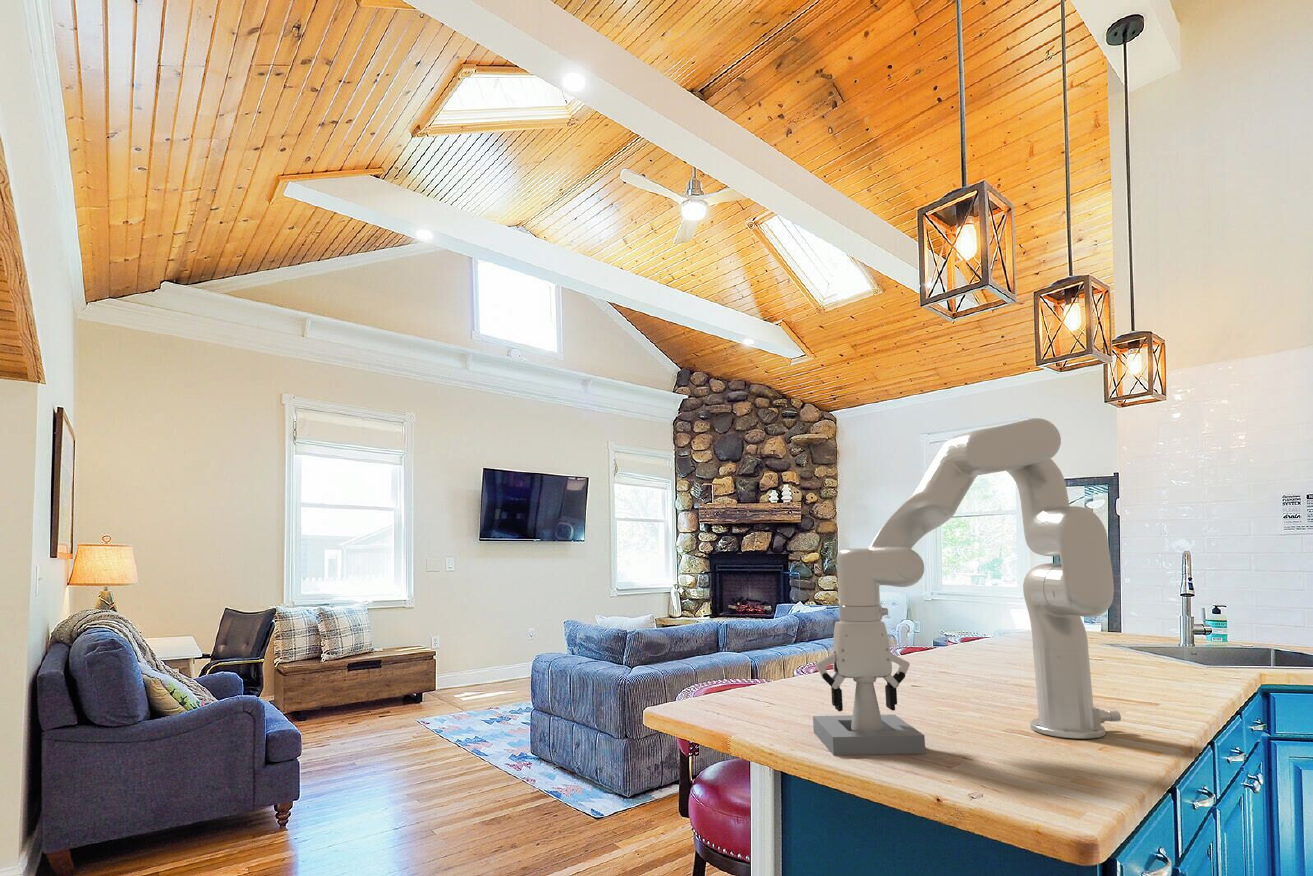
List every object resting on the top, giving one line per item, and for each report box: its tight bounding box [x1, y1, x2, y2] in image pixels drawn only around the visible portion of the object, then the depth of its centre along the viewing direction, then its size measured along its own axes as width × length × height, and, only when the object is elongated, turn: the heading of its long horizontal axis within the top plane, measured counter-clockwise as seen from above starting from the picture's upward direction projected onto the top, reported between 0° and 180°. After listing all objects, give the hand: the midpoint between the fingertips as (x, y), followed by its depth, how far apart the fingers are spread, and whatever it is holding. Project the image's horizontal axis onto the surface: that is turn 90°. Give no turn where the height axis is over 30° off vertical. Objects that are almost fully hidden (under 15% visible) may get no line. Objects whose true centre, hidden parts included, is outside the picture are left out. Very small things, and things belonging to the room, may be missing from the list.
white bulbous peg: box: [851, 676, 884, 731], centre depth 140 cm, size 6×6×13 cm
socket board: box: [812, 714, 926, 756], centre depth 139 cm, size 16×16×3 cm
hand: (864, 709), depth 140 cm, fingers open, 9 cm apart
